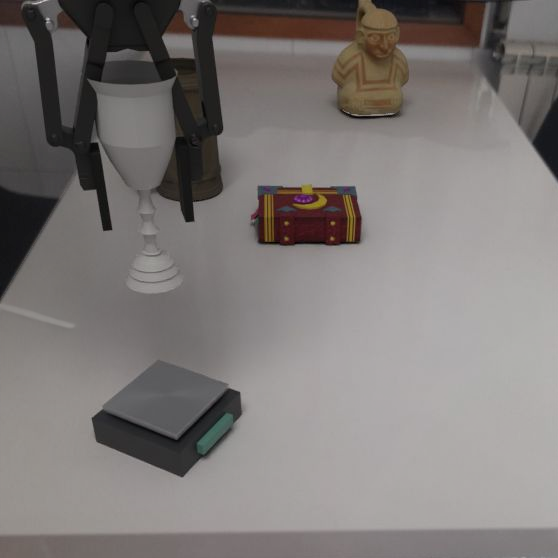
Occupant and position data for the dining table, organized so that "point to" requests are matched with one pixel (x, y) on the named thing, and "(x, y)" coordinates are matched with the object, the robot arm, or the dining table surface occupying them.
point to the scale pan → (166, 399)
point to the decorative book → (308, 214)
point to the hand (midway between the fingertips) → (147, 219)
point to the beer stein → (210, 155)
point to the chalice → (139, 154)
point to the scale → (165, 449)
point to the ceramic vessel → (371, 65)
